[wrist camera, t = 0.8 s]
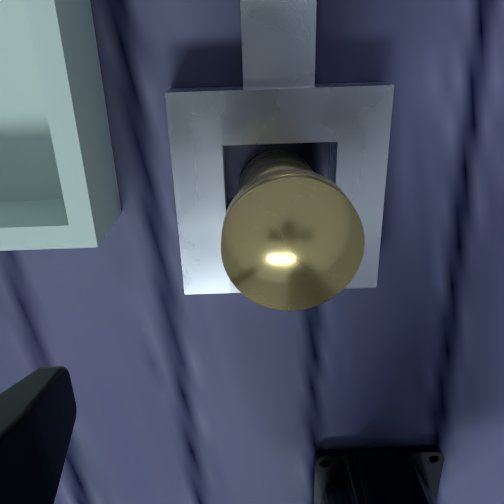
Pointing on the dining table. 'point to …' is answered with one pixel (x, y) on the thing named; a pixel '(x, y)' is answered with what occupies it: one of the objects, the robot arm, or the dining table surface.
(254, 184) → the pin
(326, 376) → the dining table surface
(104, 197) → the parts tray
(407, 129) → the dining table surface
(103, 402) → the dining table surface
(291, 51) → the tensioner bracket
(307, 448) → the dining table surface
